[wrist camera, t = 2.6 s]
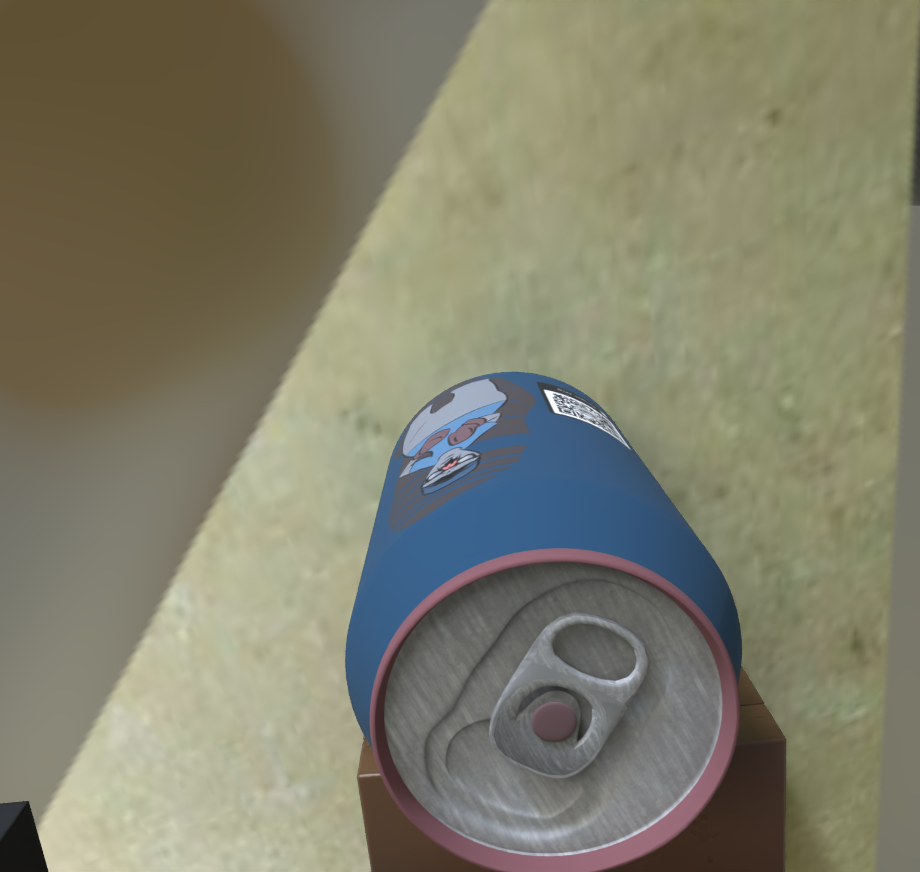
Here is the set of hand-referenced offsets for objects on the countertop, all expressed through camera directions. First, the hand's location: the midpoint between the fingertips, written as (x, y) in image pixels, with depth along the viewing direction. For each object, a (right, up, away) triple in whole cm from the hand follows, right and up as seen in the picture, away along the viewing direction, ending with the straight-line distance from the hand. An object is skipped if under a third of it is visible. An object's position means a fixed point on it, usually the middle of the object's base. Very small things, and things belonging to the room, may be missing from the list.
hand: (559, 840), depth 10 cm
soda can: (0, +4, +14) cm, 15 cm away
